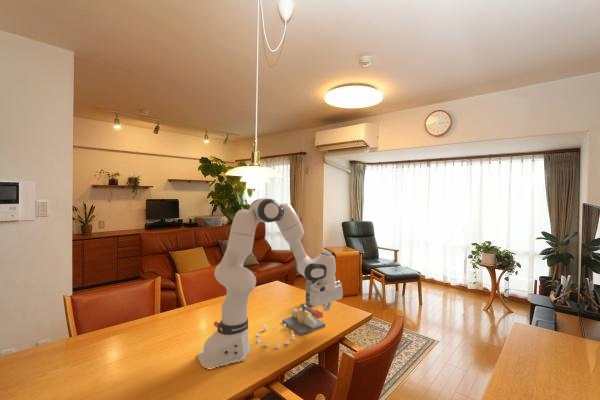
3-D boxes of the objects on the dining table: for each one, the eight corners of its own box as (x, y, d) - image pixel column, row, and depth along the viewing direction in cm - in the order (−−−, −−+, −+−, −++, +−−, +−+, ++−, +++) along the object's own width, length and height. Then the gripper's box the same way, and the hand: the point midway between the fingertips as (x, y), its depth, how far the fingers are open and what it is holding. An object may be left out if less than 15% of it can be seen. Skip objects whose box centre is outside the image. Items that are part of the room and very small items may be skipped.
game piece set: (250, 333, 139) (250, 326, 138) (286, 324, 148) (286, 317, 148) (263, 354, 121) (263, 345, 121) (302, 342, 131) (303, 334, 130)
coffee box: (313, 306, 170) (313, 281, 170) (305, 304, 174) (305, 279, 174) (321, 302, 177) (321, 277, 177) (313, 299, 181) (313, 275, 181)
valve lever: (299, 308, 148) (299, 304, 148) (304, 306, 150) (304, 303, 150) (317, 318, 135) (317, 314, 135) (322, 317, 137) (322, 313, 137)
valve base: (301, 335, 136) (301, 317, 136) (282, 322, 150) (282, 306, 150) (325, 326, 146) (325, 309, 145) (305, 314, 159) (305, 299, 159)
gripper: (337, 278, 150) (337, 303, 151) (307, 286, 138) (307, 313, 139) (345, 281, 145) (345, 307, 146) (315, 290, 133) (315, 318, 134)
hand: (326, 310), depth 142 cm, fingers closed
